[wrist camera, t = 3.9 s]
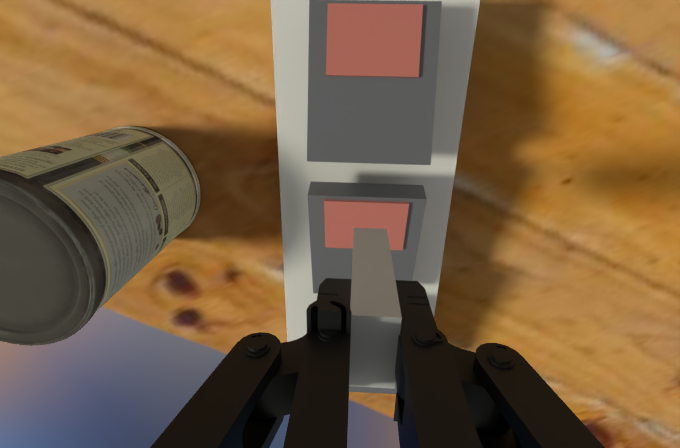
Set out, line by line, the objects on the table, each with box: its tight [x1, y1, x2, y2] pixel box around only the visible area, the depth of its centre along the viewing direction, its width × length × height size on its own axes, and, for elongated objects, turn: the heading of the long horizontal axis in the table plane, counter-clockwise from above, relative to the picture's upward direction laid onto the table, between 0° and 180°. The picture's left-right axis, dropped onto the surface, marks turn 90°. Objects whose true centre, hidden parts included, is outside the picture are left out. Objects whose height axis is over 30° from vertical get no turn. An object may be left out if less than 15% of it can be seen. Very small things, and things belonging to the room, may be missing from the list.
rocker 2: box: [307, 181, 427, 294], centre depth 24 cm, size 8×7×2 cm
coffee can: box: [0, 126, 201, 345], centre depth 25 cm, size 10×10×14 cm
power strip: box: [271, 0, 480, 342], centre depth 27 cm, size 35×12×6 cm, turn 179°
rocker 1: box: [307, 0, 442, 165], centre depth 21 cm, size 8×7×2 cm
